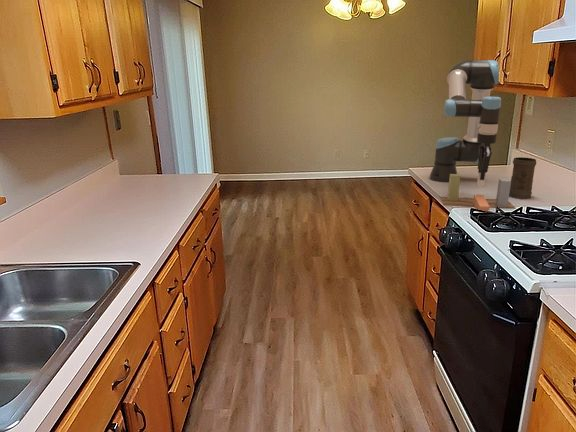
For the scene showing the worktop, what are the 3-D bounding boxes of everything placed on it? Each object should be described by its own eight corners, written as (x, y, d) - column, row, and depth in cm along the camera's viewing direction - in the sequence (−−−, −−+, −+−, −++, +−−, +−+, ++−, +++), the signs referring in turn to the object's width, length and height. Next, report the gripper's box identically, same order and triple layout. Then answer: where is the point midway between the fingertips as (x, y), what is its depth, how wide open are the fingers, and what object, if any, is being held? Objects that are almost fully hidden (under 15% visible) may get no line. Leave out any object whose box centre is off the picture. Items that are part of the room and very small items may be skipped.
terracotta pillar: (474, 194, 207) (479, 206, 197) (483, 195, 206) (489, 206, 196) (472, 202, 209) (478, 214, 198) (482, 202, 208) (487, 214, 198)
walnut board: (438, 199, 221) (438, 196, 221) (506, 201, 216) (507, 199, 216) (443, 208, 207) (443, 205, 207) (516, 211, 202) (516, 208, 202)
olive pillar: (447, 198, 218) (449, 173, 214) (456, 198, 218) (458, 174, 214) (448, 200, 214) (451, 175, 211) (457, 201, 214) (460, 176, 210)
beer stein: (534, 202, 215) (540, 160, 210) (510, 201, 217) (515, 159, 212) (524, 196, 230) (530, 156, 225) (502, 195, 232) (507, 155, 227)
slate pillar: (495, 204, 208) (499, 178, 205) (504, 204, 208) (508, 179, 204) (497, 207, 205) (501, 180, 201) (507, 207, 204) (511, 181, 200)
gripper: (474, 131, 204) (468, 182, 212) (481, 135, 192) (474, 189, 200) (492, 131, 203) (485, 183, 211) (500, 135, 191) (492, 190, 198)
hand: (480, 186), depth 205 cm, fingers closed
